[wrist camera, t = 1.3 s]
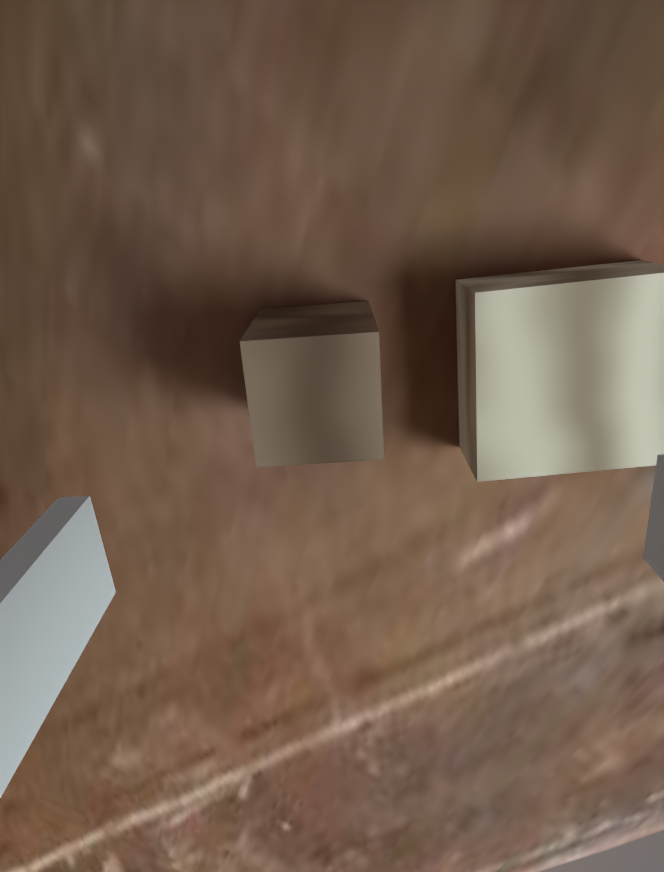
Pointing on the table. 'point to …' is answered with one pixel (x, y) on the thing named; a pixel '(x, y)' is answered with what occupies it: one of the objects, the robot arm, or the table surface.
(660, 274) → the pale square block
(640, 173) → the table surface
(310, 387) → the walnut block
